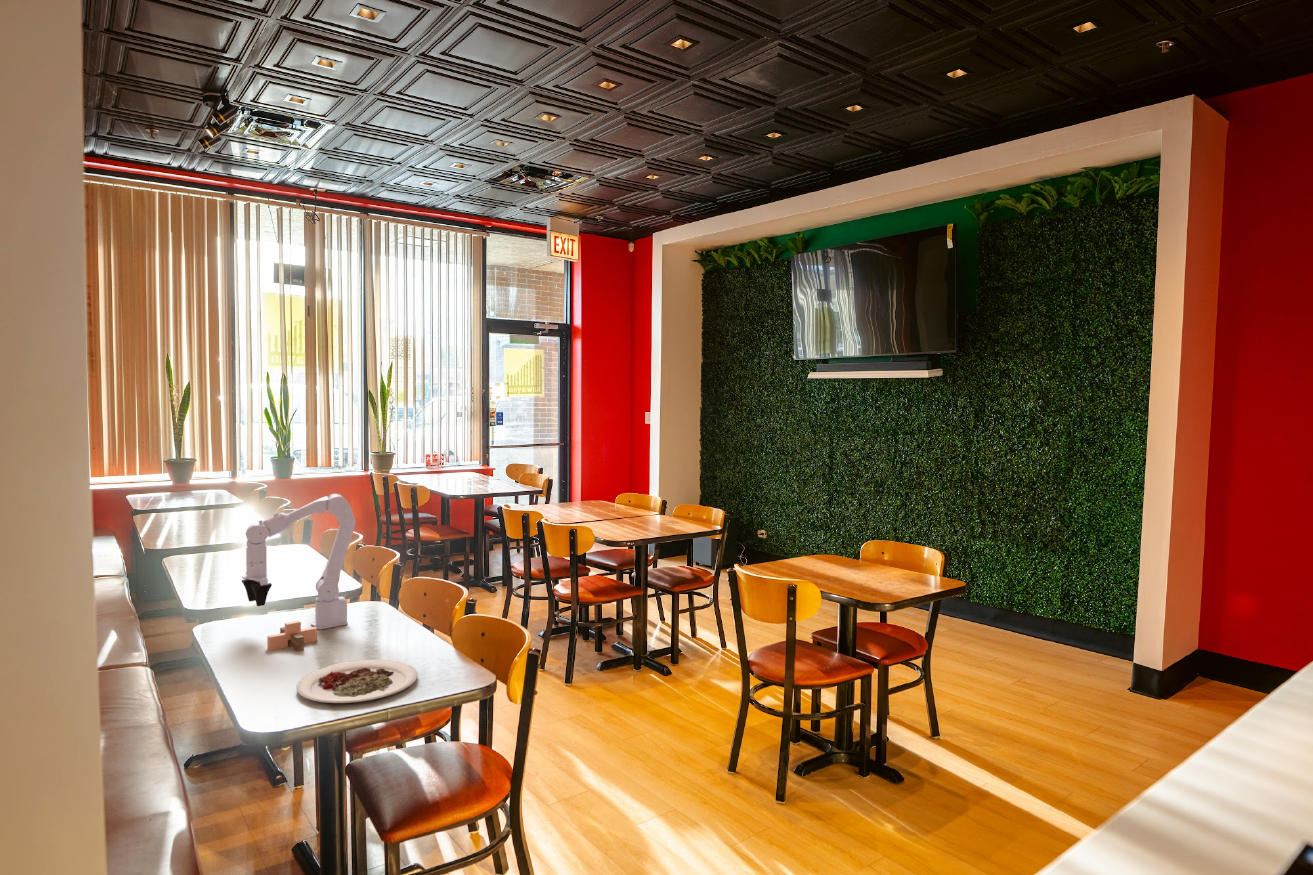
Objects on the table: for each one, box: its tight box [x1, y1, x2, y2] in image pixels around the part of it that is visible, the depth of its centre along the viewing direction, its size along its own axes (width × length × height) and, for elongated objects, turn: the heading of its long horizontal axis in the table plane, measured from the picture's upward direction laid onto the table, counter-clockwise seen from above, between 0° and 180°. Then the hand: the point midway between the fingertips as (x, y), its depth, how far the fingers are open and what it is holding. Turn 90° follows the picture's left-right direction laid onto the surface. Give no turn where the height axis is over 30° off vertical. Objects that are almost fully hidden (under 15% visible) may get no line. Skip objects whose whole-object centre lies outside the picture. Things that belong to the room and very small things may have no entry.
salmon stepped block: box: [266, 620, 318, 652], centre depth 229 cm, size 14×2×7 cm, turn 136°
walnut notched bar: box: [279, 626, 305, 652], centre depth 229 cm, size 2×14×4 cm, turn 46°
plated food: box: [296, 659, 418, 704], centre depth 198 cm, size 30×30×3 cm
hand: (256, 603), depth 239 cm, fingers open, 7 cm apart
